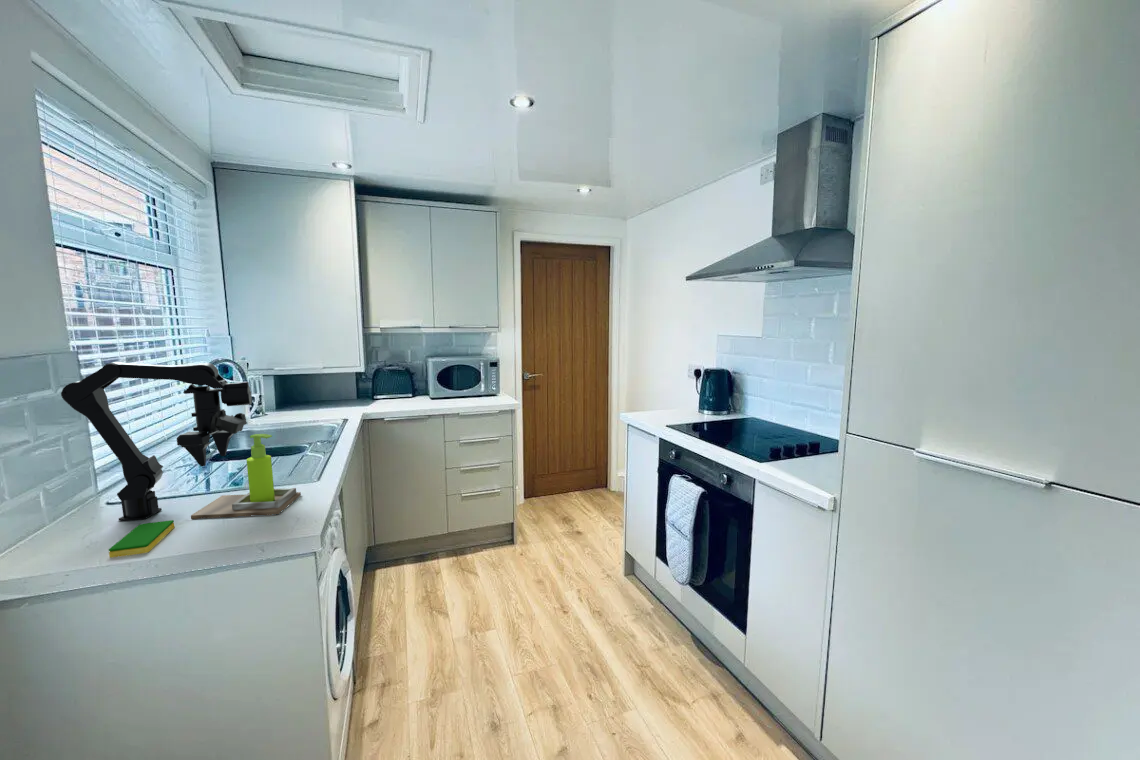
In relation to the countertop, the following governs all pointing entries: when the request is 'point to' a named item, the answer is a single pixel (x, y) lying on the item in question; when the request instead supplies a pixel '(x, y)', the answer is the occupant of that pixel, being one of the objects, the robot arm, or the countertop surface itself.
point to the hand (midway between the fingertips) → (213, 460)
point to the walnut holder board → (247, 505)
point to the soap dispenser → (260, 472)
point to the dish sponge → (141, 539)
